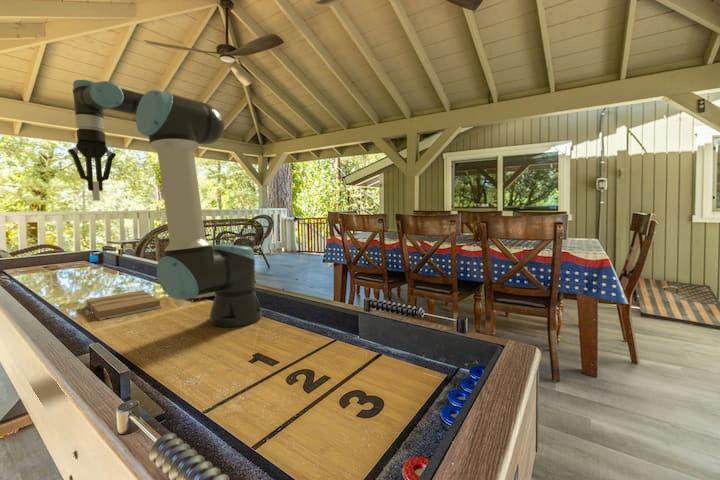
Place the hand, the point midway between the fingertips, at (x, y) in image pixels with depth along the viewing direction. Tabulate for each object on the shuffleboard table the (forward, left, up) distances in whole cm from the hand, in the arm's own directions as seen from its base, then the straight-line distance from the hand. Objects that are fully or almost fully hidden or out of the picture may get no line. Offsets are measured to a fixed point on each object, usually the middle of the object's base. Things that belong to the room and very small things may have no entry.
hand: (96, 200), depth 117 cm
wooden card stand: (-10, -3, -37) cm, 38 cm away
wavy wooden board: (-7, -3, -36) cm, 37 cm away
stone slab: (-7, -28, -37) cm, 47 cm away
